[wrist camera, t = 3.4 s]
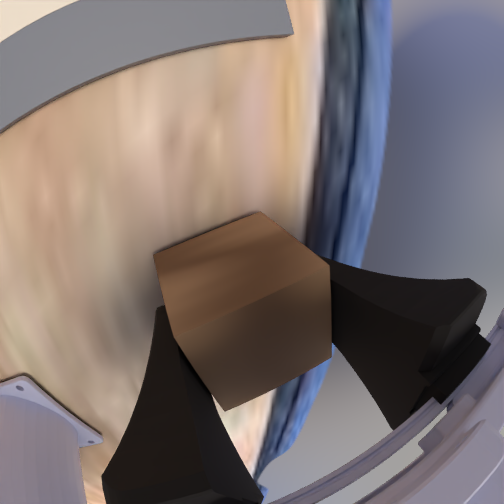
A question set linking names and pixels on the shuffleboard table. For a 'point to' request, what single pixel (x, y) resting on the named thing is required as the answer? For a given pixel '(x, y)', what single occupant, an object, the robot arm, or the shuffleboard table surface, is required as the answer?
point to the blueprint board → (112, 40)
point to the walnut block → (247, 307)
